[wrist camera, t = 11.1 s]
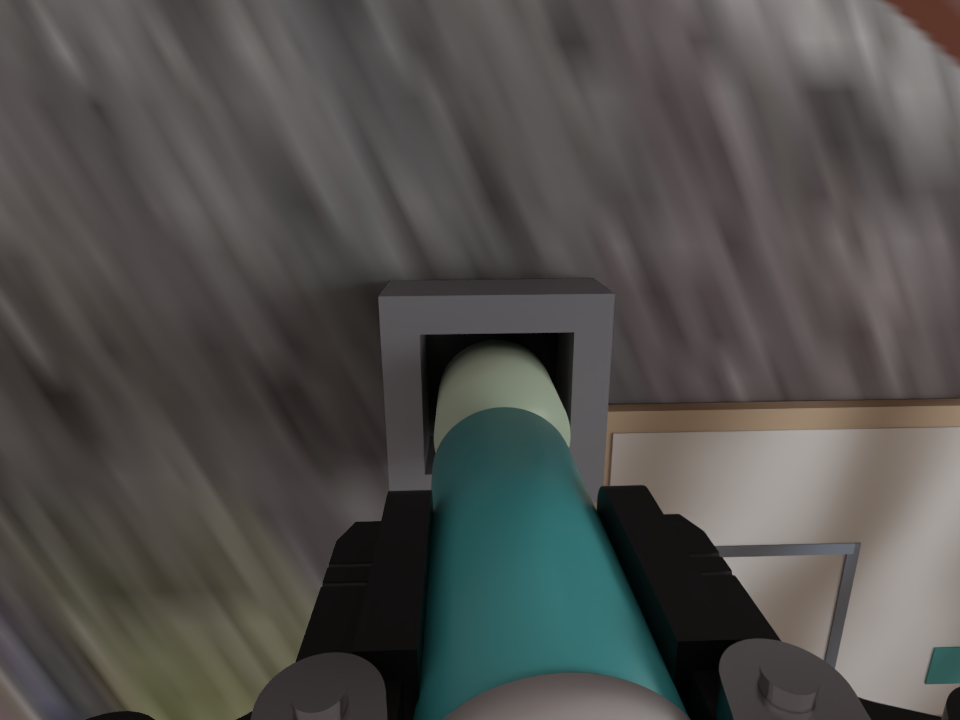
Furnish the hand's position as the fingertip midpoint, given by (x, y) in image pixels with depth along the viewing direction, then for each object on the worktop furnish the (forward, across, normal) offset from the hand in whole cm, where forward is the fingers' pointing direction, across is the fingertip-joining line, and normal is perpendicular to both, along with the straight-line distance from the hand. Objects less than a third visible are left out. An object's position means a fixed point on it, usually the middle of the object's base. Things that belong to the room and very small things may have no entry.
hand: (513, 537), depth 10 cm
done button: (+7, 0, 0) cm, 7 cm away
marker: (+4, 0, 0) cm, 4 cm away
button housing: (+9, 0, 0) cm, 9 cm away
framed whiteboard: (+8, -11, +8) cm, 16 cm away
